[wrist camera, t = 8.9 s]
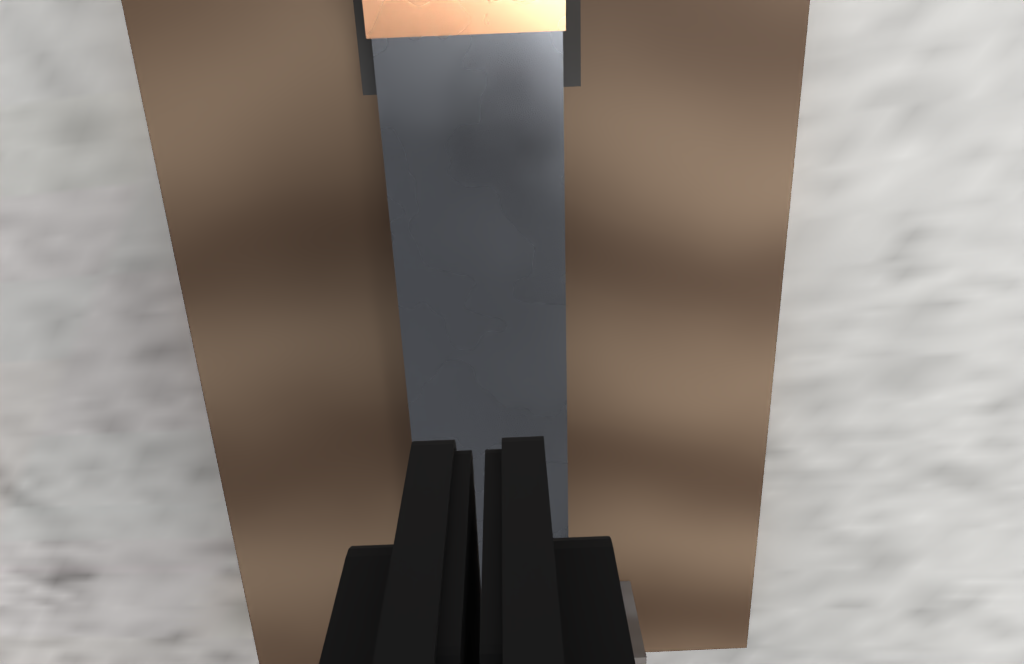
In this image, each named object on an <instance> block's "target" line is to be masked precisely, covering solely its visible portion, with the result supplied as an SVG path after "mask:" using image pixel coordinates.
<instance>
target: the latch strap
mask: <svg viewBox="0 0 1024 664" xmlns="http://www.w3.org/2000/svg"><path fill="white" fill-rule="evenodd" d="M362 4H363V13H364V23H365V33H366V39H371V40H372V50H373V60H374V69H375V79H376V89H377V99H378V109H379V119H380V129H381V139H382V149H383V159H384V169H385V179H386V189H387V199H388V209H389V219H390V229H391V239H392V248H393V258H394V268H395V278H396V288H397V298H398V308H399V318H400V328H401V338H402V348H403V358H404V368H405V378H406V388H407V398H408V408H409V418H410V427H411V437H412V442H413V441H429V440H455V442H456V448H457V451H461V450H472V454H473V467H474V483H475V499H476V515H477V531H478V546H479V562H480V578H481V581H482V544H483V508H484V472H485V450H486V449H502V438H506V437H531V436H544V445H545V456H546V467H547V478H548V489H549V500H550V511H551V522H552V532H553V538H567V537H568V452H567V361H566V270H565V179H564V88H563V31H566V0H362Z"/></svg>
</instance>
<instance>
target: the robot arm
mask: <svg viewBox="0 0 1024 664" xmlns="http://www.w3.org/2000/svg"><path fill="white" fill-rule="evenodd" d="M319 664H635V659H634V653H633V648H632V643H631V638H630V632H629V627H628V622H627V617H626V611H625V606H624V601H623V596H622V591H621V585H620V580H619V575H618V570H617V564H616V559H615V554H614V549H613V544H612V540H611V538H610V536H593V537H567V538H553V532H552V522H551V511H550V500H549V489H548V478H547V467H546V456H545V445H544V436H531V437H506V438H502V449H486V450H485V472H484V508H483V544H482V581H481V578H480V562H479V546H478V531H477V515H476V499H475V483H474V467H473V454H472V450H461V451H457V448H456V442H455V440H429V441H413V442H412V444H411V449H410V454H409V460H408V466H407V471H406V477H405V483H404V488H403V494H402V500H401V505H400V511H399V517H398V522H397V528H396V534H395V539H394V544H388V545H362V546H351V547H350V548H349V549H348V552H347V555H346V558H345V562H344V566H343V570H342V574H341V578H340V582H339V586H338V589H337V593H336V597H335V601H334V605H333V609H332V613H331V617H330V621H329V625H328V629H327V633H326V637H325V641H324V645H323V649H322V653H321V657H320V661H319Z"/></svg>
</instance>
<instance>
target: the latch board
mask: <svg viewBox="0 0 1024 664" xmlns="http://www.w3.org/2000/svg"><path fill="white" fill-rule="evenodd" d="M121 1H122V6H123V10H124V15H125V20H126V25H127V30H128V35H129V39H130V44H131V49H132V54H133V59H134V63H135V68H136V73H137V78H138V83H139V87H140V92H141V97H142V102H143V107H144V111H145V116H146V121H147V126H148V131H149V136H150V140H151V145H152V150H153V155H154V160H155V164H156V169H157V174H158V179H159V184H160V188H161V193H162V198H163V203H164V208H165V212H166V217H167V222H168V227H169V232H170V237H171V241H172V246H173V251H174V256H175V261H176V265H177V270H178V275H179V280H180V285H181V289H182V294H183V299H184V304H185V309H186V313H187V318H188V323H189V328H190V333H191V337H192V342H193V347H194V352H195V357H196V362H197V366H198V371H199V376H200V381H201V386H202V390H203V395H204V400H205V405H206V410H207V414H208V419H209V424H210V429H211V434H212V438H213V443H214V448H215V453H216V458H217V463H218V467H219V472H220V477H221V482H222V487H223V491H224V496H225V501H226V506H227V511H228V515H229V520H230V525H231V530H232V535H233V539H234V544H235V549H236V554H237V559H238V563H239V568H240V573H241V578H242V583H243V588H244V592H245V597H246V602H247V607H248V612H249V616H250V621H251V626H252V631H253V636H254V640H255V645H256V650H257V655H258V660H259V664H319V661H320V657H321V653H322V649H323V645H324V641H325V637H326V633H327V629H328V625H329V621H330V617H331V613H332V609H333V605H334V601H335V597H336V593H337V589H338V586H339V582H340V578H341V574H342V570H343V566H344V562H345V558H346V555H347V552H348V549H349V548H350V547H351V546H362V545H388V544H394V539H395V534H396V528H397V522H398V517H399V511H400V505H401V500H402V494H403V488H404V483H405V477H406V471H407V466H408V460H409V454H410V449H411V444H412V437H411V427H410V418H409V408H408V398H407V388H406V378H405V368H404V358H403V348H402V338H401V328H400V318H399V308H398V298H397V288H396V278H395V268H394V258H393V248H392V239H391V229H390V219H389V209H388V199H387V189H386V179H385V169H384V159H383V149H382V139H381V129H380V119H379V109H378V99H377V89H376V79H375V69H374V60H373V50H372V40H371V39H366V33H365V23H364V13H363V4H362V0H121ZM809 4H810V0H566V31H563V88H564V179H565V270H566V361H567V452H568V537H593V536H610V538H611V540H612V544H613V549H614V554H615V559H616V564H617V570H618V575H619V580H620V585H621V591H622V596H623V601H624V606H625V611H626V617H627V622H628V627H629V632H630V638H631V643H632V648H633V653H634V659H635V664H646V653H645V652H660V651H682V650H704V649H727V648H747V638H748V628H749V618H750V608H751V597H752V587H753V577H754V567H755V556H756V546H757V536H758V526H759V516H760V505H761V495H762V485H763V475H764V464H765V454H766V444H767V434H768V423H769V413H770V403H771V393H772V383H773V372H774V362H775V352H776V342H777V331H778V321H779V311H780V301H781V291H782V280H783V270H784V260H785V250H786V239H787V229H788V219H789V209H790V199H791V188H792V178H793V168H794V158H795V147H796V137H797V127H798V117H799V106H800V96H801V86H802V76H803V66H804V55H805V45H806V35H807V25H808V14H809Z"/></svg>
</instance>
